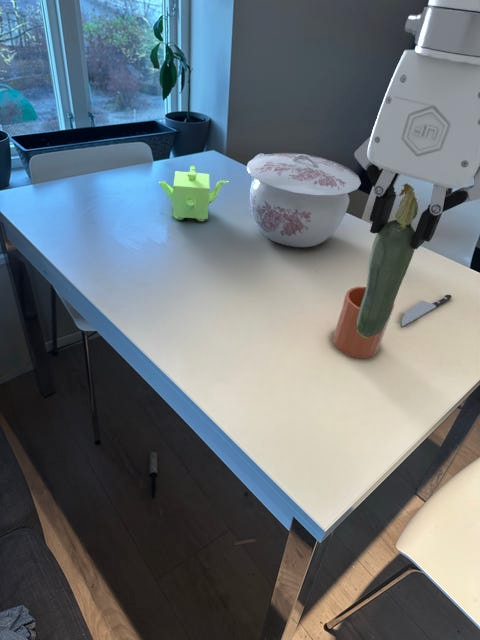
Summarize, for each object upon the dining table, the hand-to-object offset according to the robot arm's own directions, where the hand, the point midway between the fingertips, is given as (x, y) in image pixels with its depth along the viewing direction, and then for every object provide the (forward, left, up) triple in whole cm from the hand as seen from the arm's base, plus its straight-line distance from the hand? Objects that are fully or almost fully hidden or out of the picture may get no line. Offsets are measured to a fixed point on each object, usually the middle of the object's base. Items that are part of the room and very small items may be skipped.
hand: (397, 235), depth 48 cm
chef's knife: (+1, -41, -31) cm, 51 cm away
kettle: (+64, -38, -31) cm, 81 cm away
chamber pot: (+39, -49, -31) cm, 70 cm away
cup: (+6, -20, -31) cm, 38 cm away
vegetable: (0, 0, -15) cm, 15 cm away
